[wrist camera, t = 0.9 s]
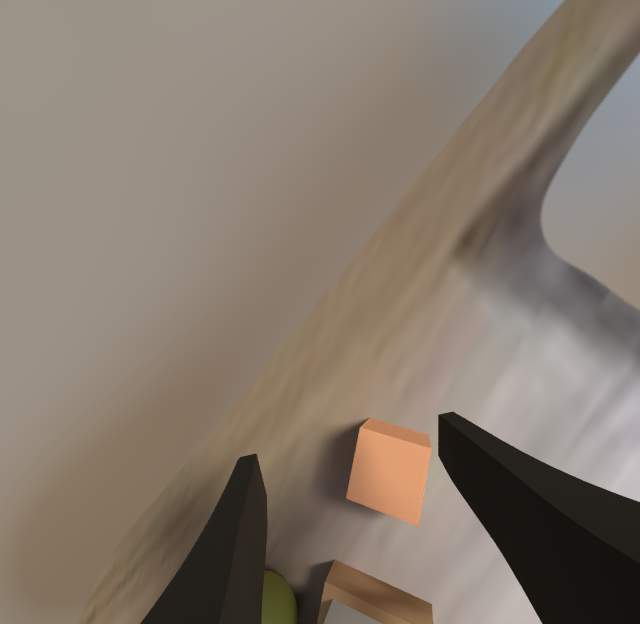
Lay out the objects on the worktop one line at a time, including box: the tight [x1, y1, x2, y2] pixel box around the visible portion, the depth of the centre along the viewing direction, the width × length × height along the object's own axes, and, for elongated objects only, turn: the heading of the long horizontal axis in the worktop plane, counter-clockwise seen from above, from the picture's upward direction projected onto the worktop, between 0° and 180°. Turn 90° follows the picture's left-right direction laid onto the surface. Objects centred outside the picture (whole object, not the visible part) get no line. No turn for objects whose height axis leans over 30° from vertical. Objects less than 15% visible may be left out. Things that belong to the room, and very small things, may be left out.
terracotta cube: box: [346, 418, 431, 526], centre depth 21 cm, size 4×4×4 cm
